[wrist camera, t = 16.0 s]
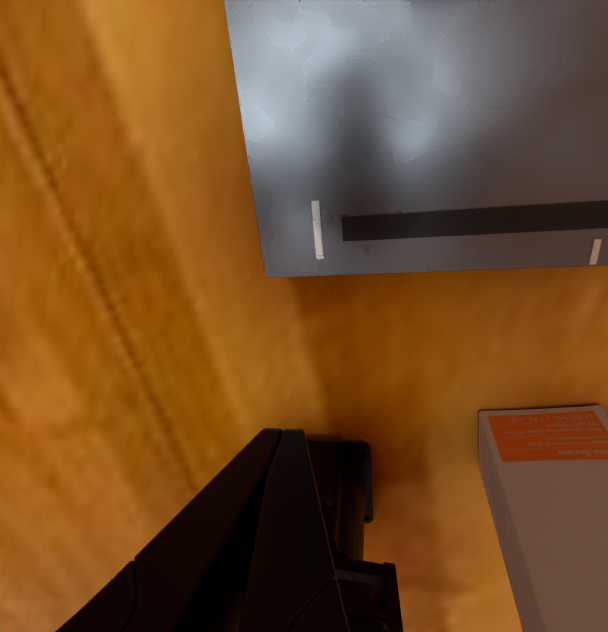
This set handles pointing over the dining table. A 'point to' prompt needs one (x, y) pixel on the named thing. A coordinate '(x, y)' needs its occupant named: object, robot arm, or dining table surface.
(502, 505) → the skincare box
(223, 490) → the robot arm
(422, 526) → the dining table surface
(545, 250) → the console
